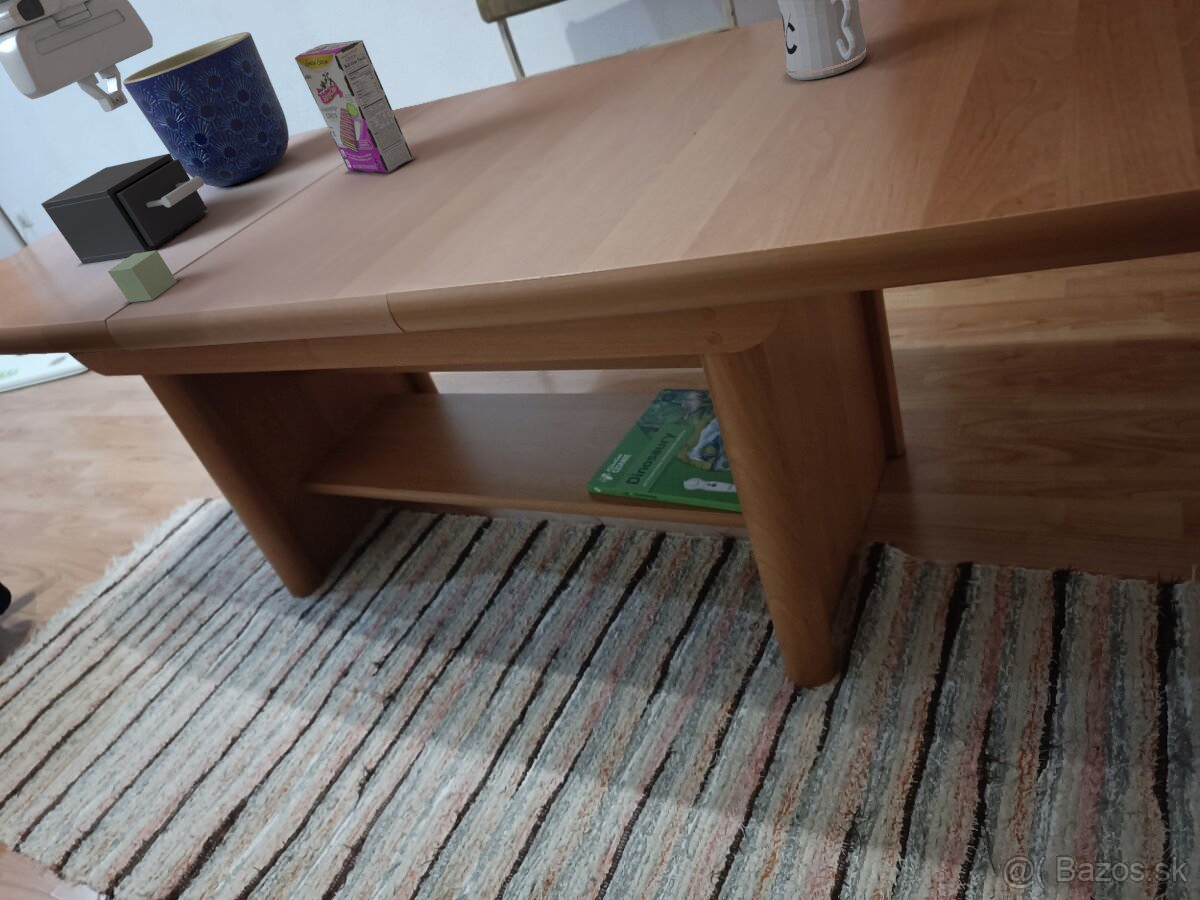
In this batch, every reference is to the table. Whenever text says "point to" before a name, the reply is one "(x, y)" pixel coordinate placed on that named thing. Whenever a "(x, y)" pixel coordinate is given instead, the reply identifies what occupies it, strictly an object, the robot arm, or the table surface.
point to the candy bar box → (354, 106)
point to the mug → (821, 36)
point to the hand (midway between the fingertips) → (117, 107)
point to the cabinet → (103, 213)
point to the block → (142, 276)
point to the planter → (214, 110)
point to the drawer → (162, 201)
